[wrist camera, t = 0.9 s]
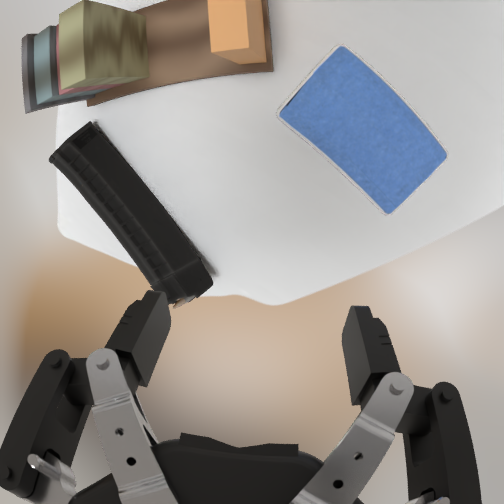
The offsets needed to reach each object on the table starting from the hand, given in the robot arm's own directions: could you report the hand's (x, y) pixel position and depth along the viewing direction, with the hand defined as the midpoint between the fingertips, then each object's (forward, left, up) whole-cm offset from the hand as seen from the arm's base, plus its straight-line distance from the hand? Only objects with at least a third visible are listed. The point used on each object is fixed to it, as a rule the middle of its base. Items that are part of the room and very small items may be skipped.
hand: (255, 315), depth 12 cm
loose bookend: (-18, -4, -24) cm, 30 cm away
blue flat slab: (-5, +9, -26) cm, 28 cm away
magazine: (+4, -21, -26) cm, 33 cm away
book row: (-18, -15, -25) cm, 34 cm away
